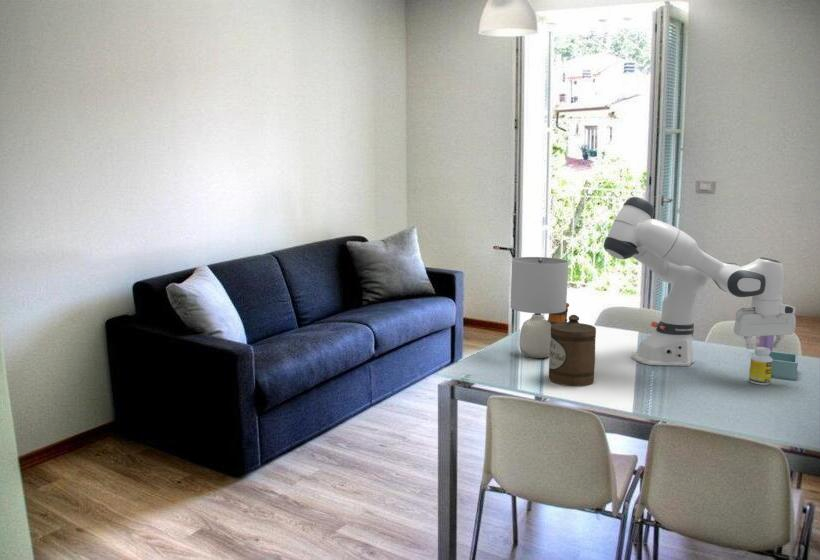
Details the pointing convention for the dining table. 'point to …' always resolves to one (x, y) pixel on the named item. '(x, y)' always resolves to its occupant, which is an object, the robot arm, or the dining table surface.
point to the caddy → (784, 365)
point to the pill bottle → (761, 366)
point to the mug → (558, 316)
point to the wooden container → (572, 353)
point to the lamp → (538, 299)
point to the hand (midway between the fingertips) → (762, 348)
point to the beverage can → (765, 341)
